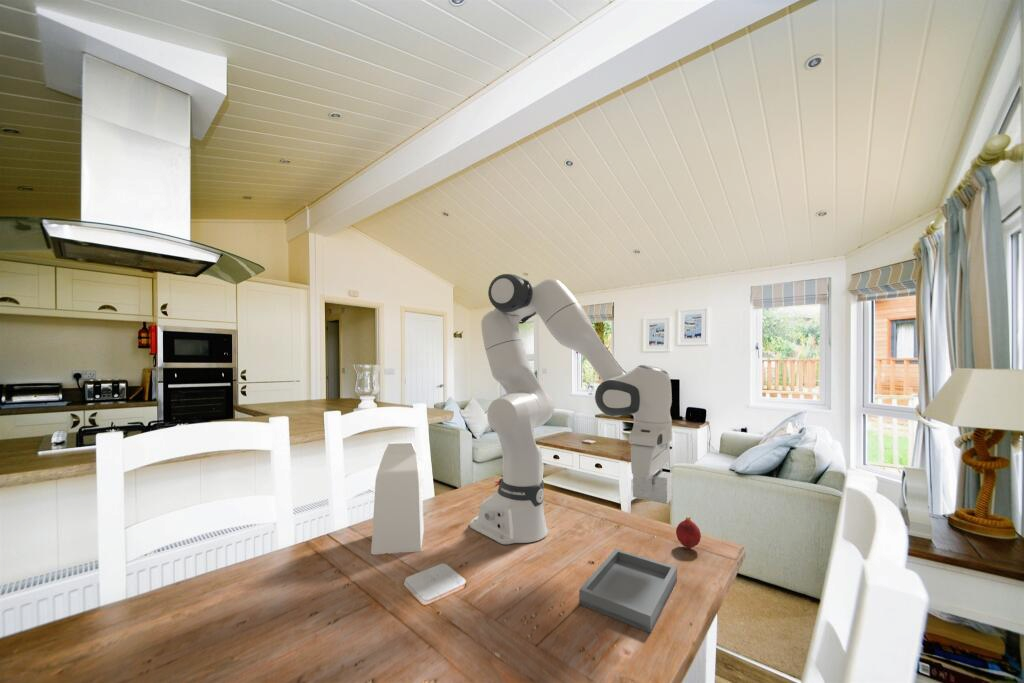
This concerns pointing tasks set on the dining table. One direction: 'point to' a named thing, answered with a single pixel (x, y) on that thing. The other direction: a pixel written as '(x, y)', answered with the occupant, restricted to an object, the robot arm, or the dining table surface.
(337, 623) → the dining table surface
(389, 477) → the milk
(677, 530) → the onion
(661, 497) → the block
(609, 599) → the tray
